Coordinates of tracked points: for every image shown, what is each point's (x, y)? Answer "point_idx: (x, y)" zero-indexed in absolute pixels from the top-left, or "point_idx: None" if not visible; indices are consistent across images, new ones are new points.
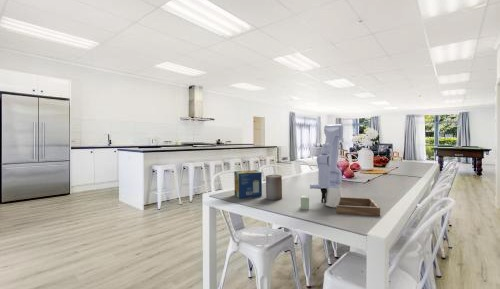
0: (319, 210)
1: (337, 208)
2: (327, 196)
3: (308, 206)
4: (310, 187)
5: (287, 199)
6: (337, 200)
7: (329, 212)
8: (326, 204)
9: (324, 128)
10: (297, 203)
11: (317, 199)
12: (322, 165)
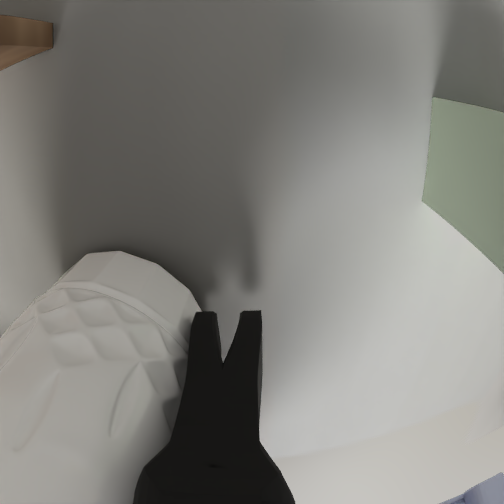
0: (288, 61)
1: (6, 22)
2: (142, 385)
3: (460, 102)
4: (500, 493)
5: (496, 379)
6: (19, 318)
7: (137, 5)
8: (187, 297)
9: None
10: (483, 315)
11: (288, 448)
12: None
